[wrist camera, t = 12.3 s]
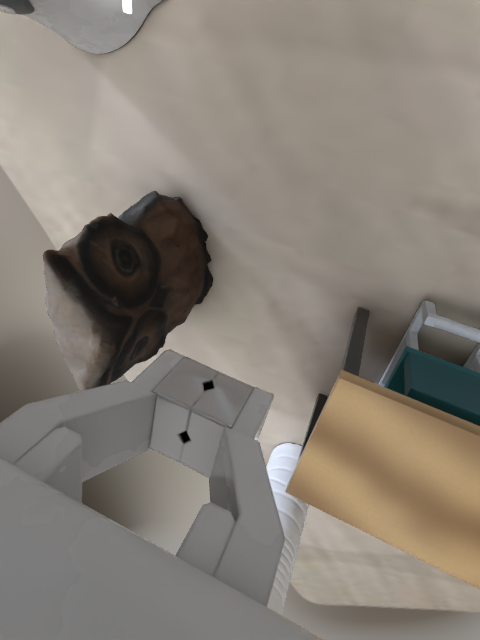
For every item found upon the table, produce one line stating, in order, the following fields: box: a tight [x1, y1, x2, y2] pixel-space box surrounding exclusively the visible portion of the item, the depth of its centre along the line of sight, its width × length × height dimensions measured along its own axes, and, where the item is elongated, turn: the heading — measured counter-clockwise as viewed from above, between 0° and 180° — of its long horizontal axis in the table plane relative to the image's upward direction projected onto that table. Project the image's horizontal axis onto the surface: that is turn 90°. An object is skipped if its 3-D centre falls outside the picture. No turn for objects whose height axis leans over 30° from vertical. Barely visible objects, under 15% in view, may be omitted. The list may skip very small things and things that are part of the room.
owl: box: [43, 191, 213, 391], centre depth 36 cm, size 13×13×20 cm
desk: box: [285, 307, 480, 589], centre depth 35 cm, size 14×18×14 cm
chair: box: [378, 300, 480, 426], centre depth 34 cm, size 12×8×12 cm, turn 167°
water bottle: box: [266, 443, 309, 615], centre depth 40 cm, size 9×6×25 cm
